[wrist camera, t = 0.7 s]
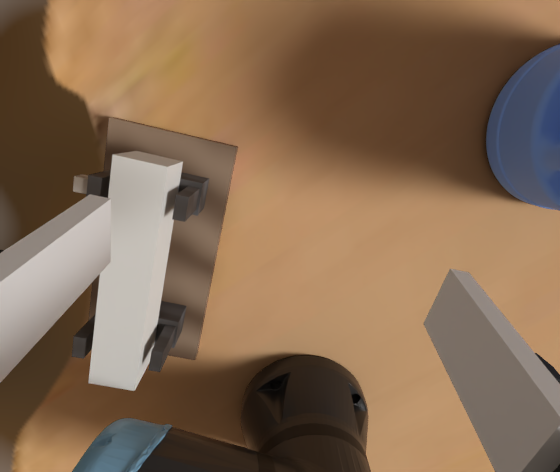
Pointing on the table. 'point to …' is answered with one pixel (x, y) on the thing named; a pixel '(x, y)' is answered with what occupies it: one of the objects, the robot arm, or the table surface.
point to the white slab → (133, 267)
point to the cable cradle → (173, 231)
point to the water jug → (529, 132)
